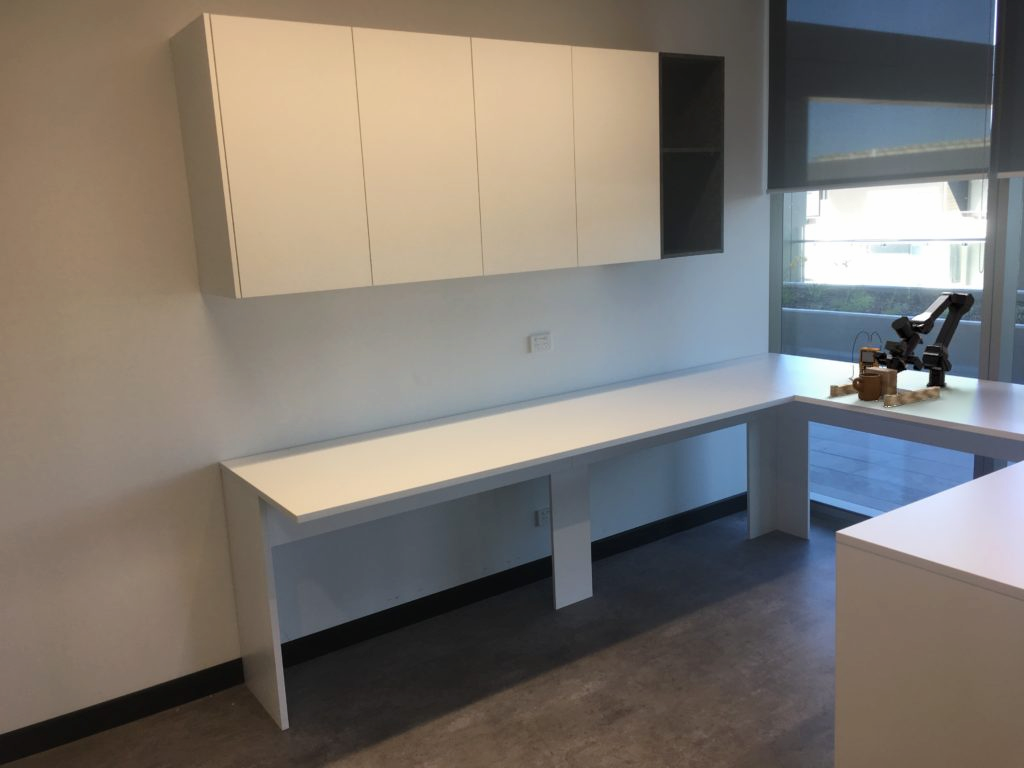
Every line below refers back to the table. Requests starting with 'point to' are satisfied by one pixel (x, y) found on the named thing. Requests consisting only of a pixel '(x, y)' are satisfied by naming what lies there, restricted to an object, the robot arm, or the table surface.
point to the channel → (890, 399)
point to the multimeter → (866, 357)
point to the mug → (868, 386)
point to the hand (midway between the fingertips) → (886, 378)
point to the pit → (902, 390)
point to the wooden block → (885, 380)
